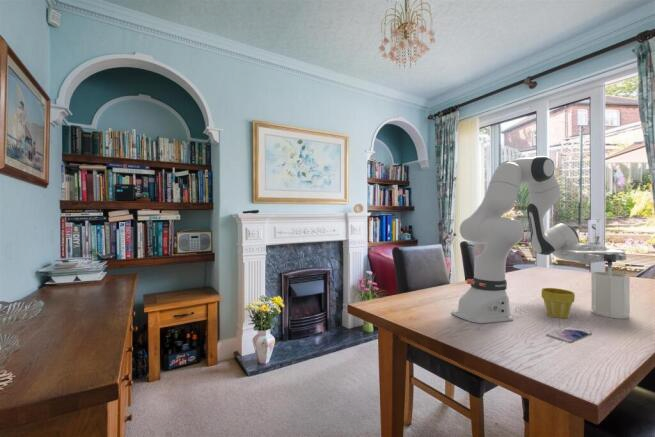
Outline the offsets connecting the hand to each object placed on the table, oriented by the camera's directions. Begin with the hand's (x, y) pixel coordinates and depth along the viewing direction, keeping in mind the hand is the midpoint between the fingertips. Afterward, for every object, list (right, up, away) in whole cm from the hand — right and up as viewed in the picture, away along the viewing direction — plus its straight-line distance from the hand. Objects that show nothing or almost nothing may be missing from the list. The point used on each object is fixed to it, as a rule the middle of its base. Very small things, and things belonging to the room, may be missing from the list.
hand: (611, 257), depth 117 cm
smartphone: (-32, -23, -19) cm, 44 cm away
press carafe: (+2, -23, +2) cm, 23 cm away
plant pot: (-21, -23, 0) cm, 31 cm away
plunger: (0, -20, +1) cm, 20 cm away
